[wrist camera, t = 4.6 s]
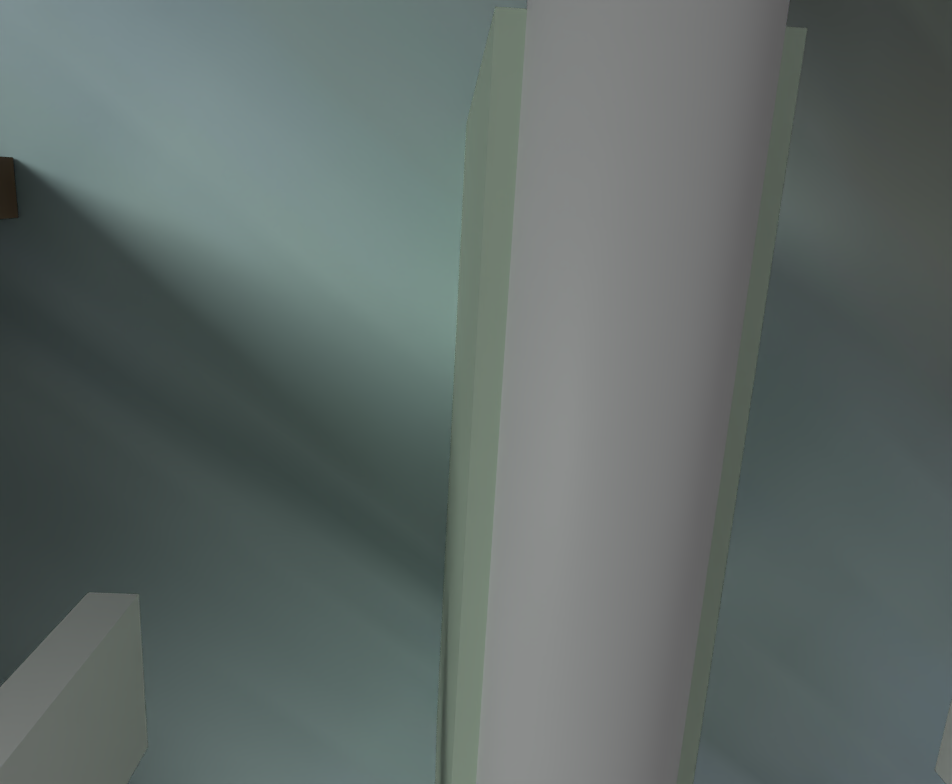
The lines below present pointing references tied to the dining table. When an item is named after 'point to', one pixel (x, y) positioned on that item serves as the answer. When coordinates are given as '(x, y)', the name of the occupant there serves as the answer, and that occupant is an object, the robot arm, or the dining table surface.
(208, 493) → the dining table surface
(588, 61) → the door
